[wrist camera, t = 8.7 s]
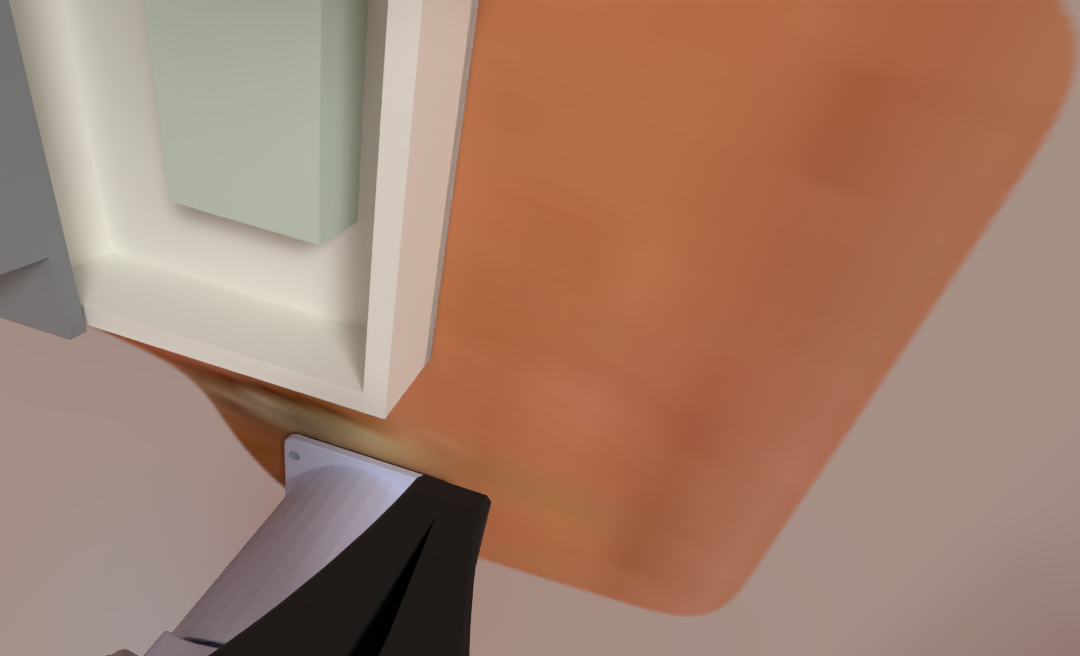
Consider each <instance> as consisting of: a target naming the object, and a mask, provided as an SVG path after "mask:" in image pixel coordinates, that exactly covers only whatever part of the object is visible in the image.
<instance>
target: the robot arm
mask: <svg viewBox="0 0 1080 656" xmlns="http://www.w3.org/2000/svg"><path fill="white" fill-rule="evenodd" d="M284 450H285V486H286V497H285V498H284V499H283V500H282V502H281V503H280V504H279V505H278V506H277V508H276V509H275V510H274V511H273V512H272V514H271V515H270V516H269V517H268V518H267V520H266V521H265V522H264V523H263V524H262V526H261V527H260V528H259V529H258V531H257V532H256V533H255V534H254V535H253V536H252V538H251V539H250V540H249V541H248V542H247V544H246V545H245V546H244V547H243V548H242V550H241V551H240V552H239V553H238V554H237V556H236V557H235V558H234V559H233V560H232V561H231V563H230V564H229V565H228V566H227V567H226V569H225V570H224V571H223V572H222V573H221V575H220V576H219V577H218V578H217V579H216V581H215V582H214V583H213V584H212V585H211V587H210V588H209V589H208V590H207V591H206V593H205V594H204V595H203V596H202V597H201V599H200V600H199V601H198V602H197V603H196V605H195V606H194V607H193V608H192V609H191V611H190V612H189V613H188V614H187V615H186V616H185V618H184V619H183V620H182V621H181V623H180V624H179V625H178V626H177V627H176V629H175V630H174V631H173V632H172V633H170V632H168V631H166V632H163V634H162V635H161V636H160V637H159V638H158V640H157V641H156V642H155V643H154V644H153V645H152V646H151V648H150V649H149V650H148V651H147V652H146V654H145V655H144V656H469V645H470V624H471V610H472V597H473V585H474V584H473V583H474V575H475V566H476V563H477V559H478V555H479V551H480V547H481V542H482V538H483V534H484V530H485V526H486V521H487V517H488V513H489V509H490V505H491V501H490V499H489V498H488V497H487V495H484V494H481V493H478V492H475V491H472V490H469V489H466V488H462V487H459V486H456V485H453V484H450V483H447V482H444V481H441V480H438V479H435V478H432V477H429V476H426V475H422V474H419V473H416V472H413V471H410V470H407V469H404V468H401V467H398V466H395V465H391V464H388V463H385V462H382V461H379V460H376V459H373V458H370V457H367V456H364V455H361V454H357V453H354V452H351V451H348V450H345V449H342V448H339V447H336V446H333V445H330V444H327V443H324V442H320V441H317V440H314V439H311V438H308V437H305V436H302V435H299V434H291V435H290V436H289V437H288V438H287V439H286V440H285V443H284ZM107 656H137V655H135V654H134V653H132V652H130V651H129V650H126V649H123V650H119V651H117V652H115V653H114V654H112V655H107Z"/></svg>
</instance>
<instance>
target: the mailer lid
mask: <svg viewBox="0 0 1080 656" xmlns="http://www.w3.org/2000/svg"><path fill="white" fill-rule="evenodd" d="M0 317H1V318H4V319H7V320H10V321H13V322H16V323H19V324H23V325H26V326H29V327H32V328H35V329H38V330H41V331H44V332H48V333H51V334H54V335H57V336H60V337H63V338H66V339H69V340H70V339H72V338H74V337H76V336H78V335H80V334H82V333H84V332H86V327H85V322H84V318H83V314H82V310H81V305H80V301H79V297H78V293H77V288H76V284H75V280H74V276H73V271H72V267H71V263H70V259H69V254H68V250H67V246H66V242H65V237H64V233H63V229H62V225H61V220H60V216H59V212H58V208H57V203H56V199H55V195H54V191H53V186H52V182H51V178H50V174H49V169H48V165H47V161H46V157H45V152H44V148H43V144H42V140H41V135H40V131H39V127H38V123H37V118H36V114H35V110H34V106H33V101H32V97H31V93H30V89H29V84H28V80H27V76H26V72H25V67H24V63H23V59H22V55H21V50H20V46H19V42H18V38H17V33H16V29H15V25H14V21H13V16H12V12H11V8H10V4H9V0H0Z"/></svg>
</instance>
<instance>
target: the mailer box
mask: <svg viewBox="0 0 1080 656" xmlns="http://www.w3.org/2000/svg"><path fill="white" fill-rule="evenodd" d="M9 4H10V8H11V12H12V16H13V21H14V25H15V29H16V33H17V38H18V42H19V46H20V50H21V55H22V59H23V63H24V67H25V72H26V76H27V80H28V84H29V89H30V93H31V97H32V101H33V106H34V110H35V114H36V118H37V123H38V127H39V131H40V135H41V140H42V144H43V148H44V152H45V157H46V161H47V165H48V169H49V174H50V178H51V182H52V186H53V191H54V195H55V199H56V203H57V208H58V212H59V216H60V220H61V225H62V229H63V233H64V237H65V242H66V246H67V250H68V254H69V259H70V263H71V267H72V271H73V276H74V280H75V284H76V288H77V293H78V297H79V301H80V305H81V310H82V314H83V318H84V322H85V324H86V325H89V326H92V327H95V328H99V329H102V330H105V331H108V332H111V333H114V334H117V335H121V336H124V337H127V338H130V339H133V340H136V341H140V342H143V343H146V344H149V345H152V346H155V347H158V348H162V349H165V350H168V351H171V352H174V353H177V354H180V355H184V356H187V357H190V358H193V359H196V360H199V361H203V362H206V363H209V364H212V365H215V366H218V367H221V368H225V369H228V370H231V371H234V372H237V373H240V374H243V375H247V376H250V377H253V378H256V379H259V380H262V381H266V382H269V383H272V384H275V385H278V386H281V387H284V388H288V389H291V390H294V391H297V392H300V393H303V394H306V395H310V396H313V397H316V398H319V399H322V400H325V401H329V402H332V403H335V404H338V405H341V406H344V407H347V408H351V409H354V410H357V411H360V412H363V413H366V414H369V415H373V416H376V417H379V418H382V419H385V418H386V417H387V415H388V414H389V413H390V411H391V410H392V409H393V407H394V406H395V405H396V403H397V402H398V401H399V399H400V398H401V397H402V395H403V394H404V393H405V391H406V390H407V389H408V387H409V386H410V385H411V383H412V382H413V381H414V379H415V378H416V377H417V375H418V374H419V373H420V371H421V370H422V369H423V367H424V366H425V365H426V363H427V362H428V361H429V359H430V358H431V351H432V343H433V336H434V329H435V321H436V314H437V307H438V299H439V292H440V284H441V277H442V270H443V262H444V255H445V248H446V240H447V233H448V225H449V218H450V211H451V203H452V196H453V188H454V181H455V174H456V166H457V159H458V152H459V144H460V137H461V129H462V122H463V115H464V107H465V100H466V92H467V85H468V78H469V70H470V63H471V56H472V48H473V41H474V33H475V26H476V19H477V11H478V4H479V0H9Z"/></svg>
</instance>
